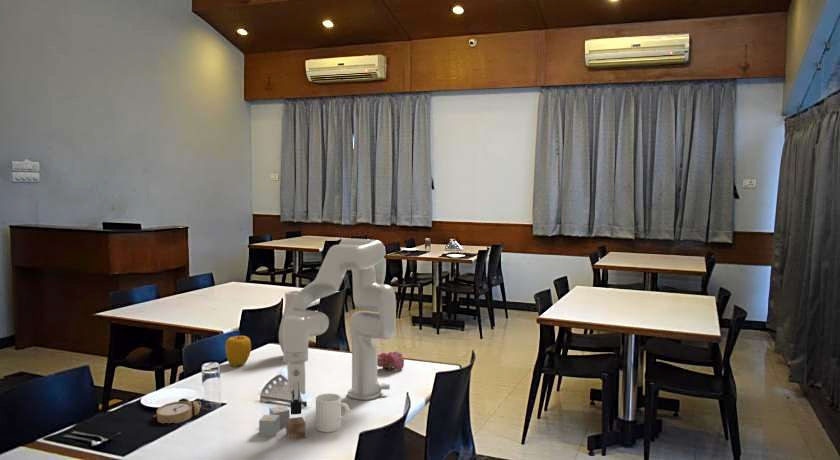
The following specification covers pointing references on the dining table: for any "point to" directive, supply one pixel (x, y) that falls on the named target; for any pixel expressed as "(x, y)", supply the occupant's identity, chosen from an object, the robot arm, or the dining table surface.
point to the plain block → (295, 428)
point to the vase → (288, 300)
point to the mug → (329, 412)
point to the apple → (238, 350)
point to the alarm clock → (177, 411)
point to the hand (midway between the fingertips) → (296, 413)
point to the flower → (390, 360)
